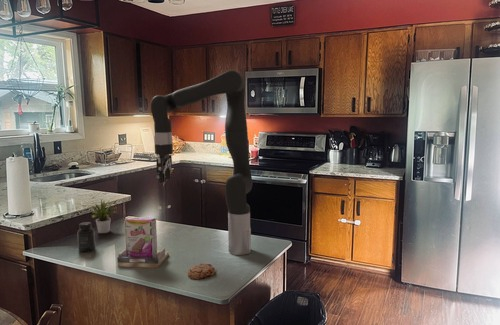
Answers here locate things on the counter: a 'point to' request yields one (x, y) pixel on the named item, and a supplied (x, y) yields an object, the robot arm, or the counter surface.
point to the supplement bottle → (86, 237)
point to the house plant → (103, 217)
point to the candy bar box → (141, 237)
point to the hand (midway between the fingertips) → (165, 180)
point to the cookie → (201, 271)
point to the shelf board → (141, 259)
